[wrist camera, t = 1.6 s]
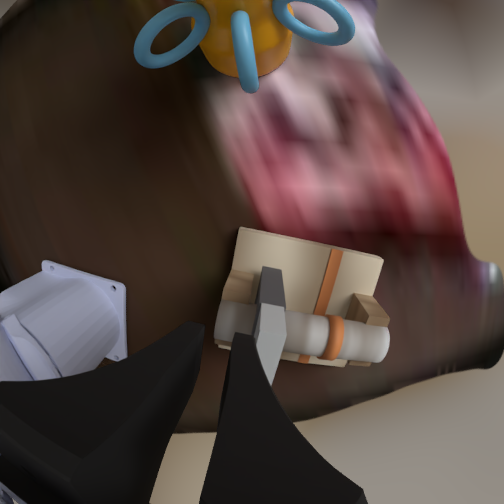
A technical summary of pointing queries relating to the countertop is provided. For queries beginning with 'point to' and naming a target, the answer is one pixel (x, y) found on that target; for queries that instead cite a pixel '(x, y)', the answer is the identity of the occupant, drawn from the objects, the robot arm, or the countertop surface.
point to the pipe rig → (308, 299)
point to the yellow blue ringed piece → (240, 35)
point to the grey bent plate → (270, 319)
